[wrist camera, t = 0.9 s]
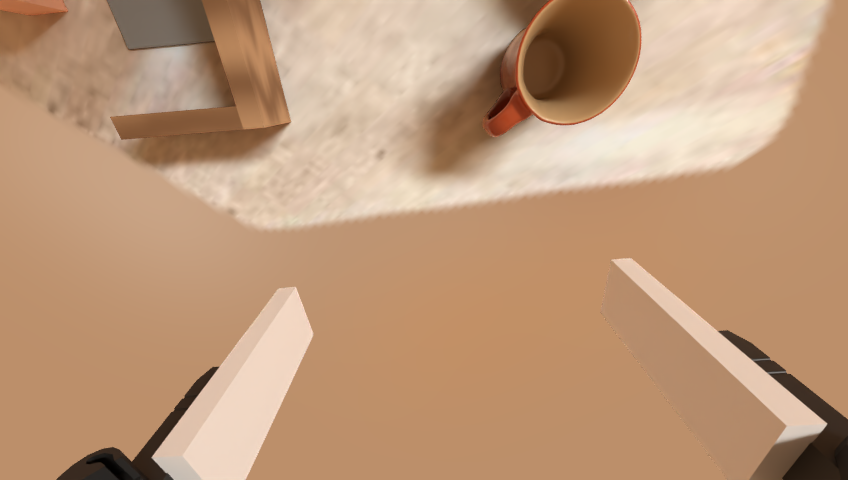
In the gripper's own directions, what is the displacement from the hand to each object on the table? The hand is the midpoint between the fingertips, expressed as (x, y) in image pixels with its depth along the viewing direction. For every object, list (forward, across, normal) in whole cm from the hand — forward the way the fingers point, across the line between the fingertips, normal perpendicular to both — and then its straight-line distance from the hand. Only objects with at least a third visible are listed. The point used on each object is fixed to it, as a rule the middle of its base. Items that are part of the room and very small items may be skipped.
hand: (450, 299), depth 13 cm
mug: (+25, +9, +8) cm, 28 cm away
